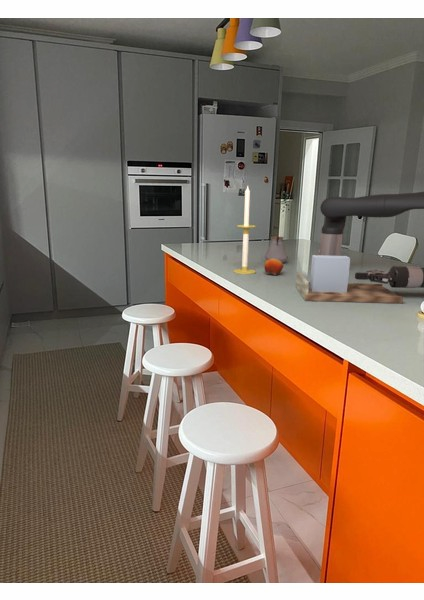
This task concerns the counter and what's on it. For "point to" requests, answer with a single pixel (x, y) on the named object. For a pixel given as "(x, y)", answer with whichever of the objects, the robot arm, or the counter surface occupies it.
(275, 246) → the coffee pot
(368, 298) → the lane
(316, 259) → the block
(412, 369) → the counter surface
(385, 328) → the counter surface
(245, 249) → the candle
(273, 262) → the fruit
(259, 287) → the counter surface
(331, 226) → the robot arm
